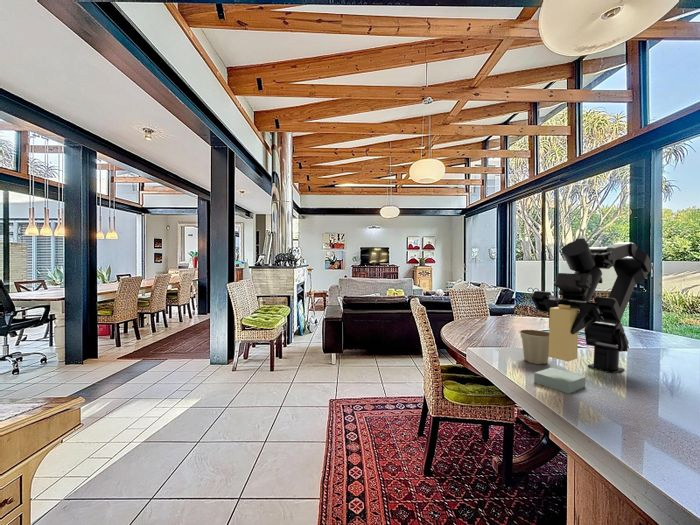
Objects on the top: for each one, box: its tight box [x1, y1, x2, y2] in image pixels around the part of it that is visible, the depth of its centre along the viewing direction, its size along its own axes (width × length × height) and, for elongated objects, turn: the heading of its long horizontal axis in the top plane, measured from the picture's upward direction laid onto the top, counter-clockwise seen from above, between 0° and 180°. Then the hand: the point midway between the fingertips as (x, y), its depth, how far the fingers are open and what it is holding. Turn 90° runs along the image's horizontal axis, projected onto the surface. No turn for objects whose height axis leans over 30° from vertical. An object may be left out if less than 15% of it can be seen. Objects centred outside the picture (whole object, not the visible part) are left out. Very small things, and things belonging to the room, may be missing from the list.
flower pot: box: [518, 329, 549, 365], centre depth 104 cm, size 9×9×9 cm
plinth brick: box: [533, 367, 586, 395], centre depth 85 cm, size 8×8×2 cm
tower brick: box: [548, 305, 580, 362], centre depth 84 cm, size 4×4×13 cm
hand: (560, 331), depth 83 cm, fingers closed on tower brick, 4 cm apart
